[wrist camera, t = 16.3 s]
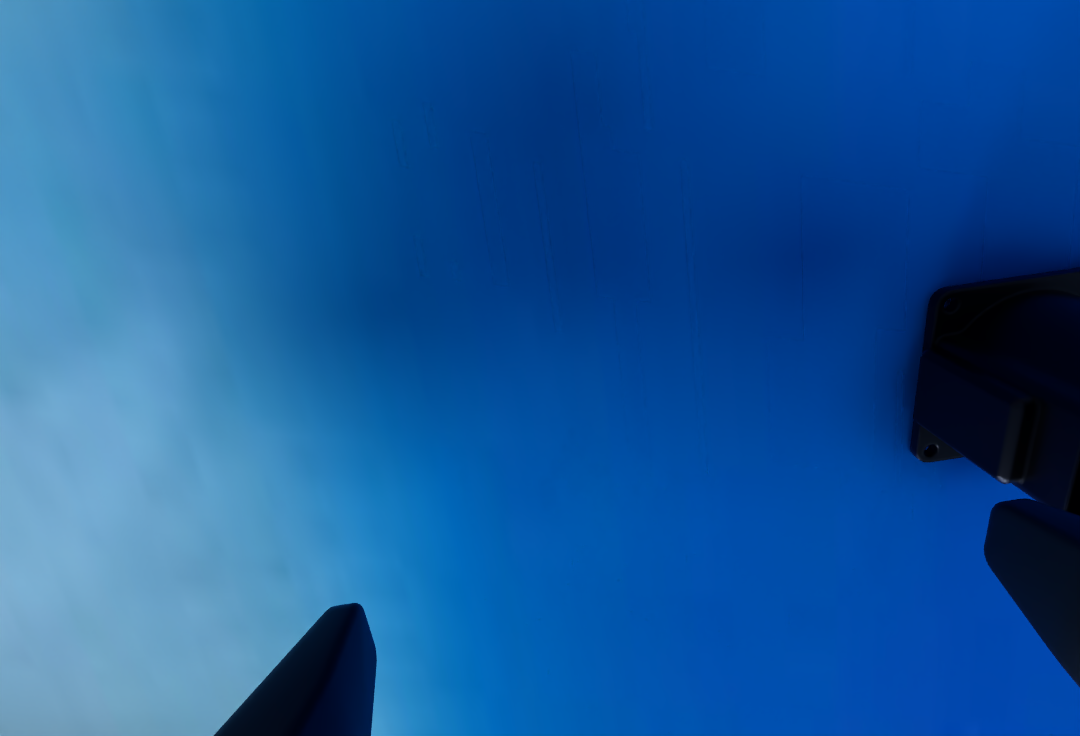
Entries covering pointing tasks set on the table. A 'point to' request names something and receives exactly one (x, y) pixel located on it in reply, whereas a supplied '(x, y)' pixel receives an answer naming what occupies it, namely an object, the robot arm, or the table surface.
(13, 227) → the table surface
